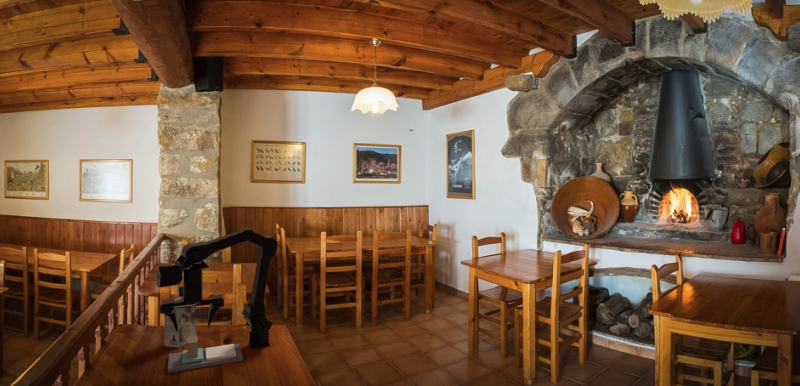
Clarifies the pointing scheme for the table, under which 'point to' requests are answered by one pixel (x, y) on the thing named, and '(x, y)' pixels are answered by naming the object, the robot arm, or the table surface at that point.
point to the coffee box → (180, 326)
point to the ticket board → (207, 358)
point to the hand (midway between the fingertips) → (193, 329)
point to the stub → (192, 351)
